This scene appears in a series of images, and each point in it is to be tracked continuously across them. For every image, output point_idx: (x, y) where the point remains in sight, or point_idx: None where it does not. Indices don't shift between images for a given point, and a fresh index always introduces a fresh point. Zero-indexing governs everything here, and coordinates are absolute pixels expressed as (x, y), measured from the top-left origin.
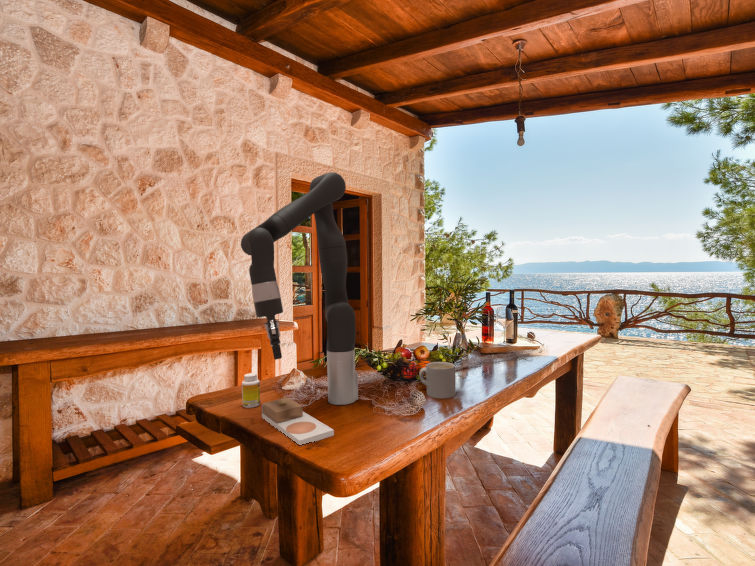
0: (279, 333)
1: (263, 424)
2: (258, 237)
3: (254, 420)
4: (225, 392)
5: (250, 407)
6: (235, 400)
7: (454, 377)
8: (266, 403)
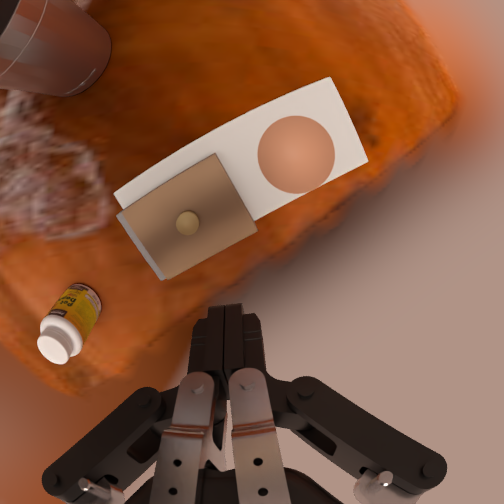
0: (278, 451)
1: None
2: None
3: (182, 279)
4: (26, 355)
5: (99, 301)
6: None
7: None
8: (171, 269)
